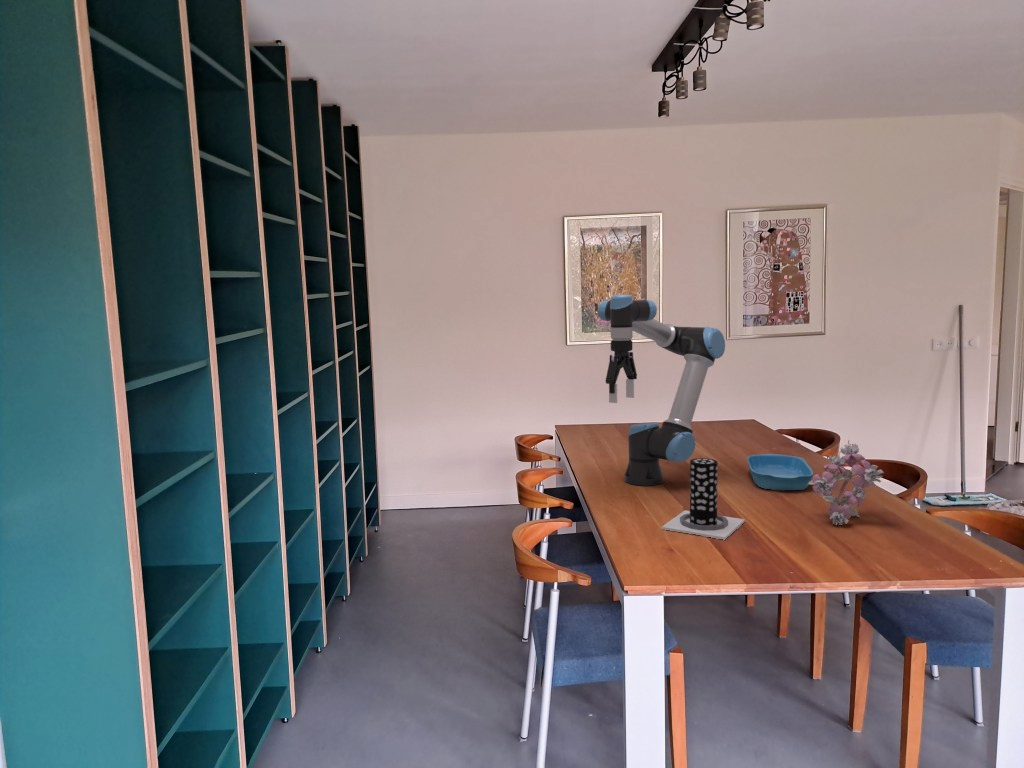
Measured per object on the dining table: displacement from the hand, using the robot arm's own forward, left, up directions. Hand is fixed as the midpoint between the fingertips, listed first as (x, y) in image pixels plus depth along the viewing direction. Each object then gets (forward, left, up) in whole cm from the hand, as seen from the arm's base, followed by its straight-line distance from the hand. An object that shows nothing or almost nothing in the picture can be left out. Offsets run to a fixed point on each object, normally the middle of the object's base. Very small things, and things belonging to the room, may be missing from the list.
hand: (621, 400), depth 254 cm
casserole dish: (-55, +40, -37) cm, 78 cm away
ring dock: (+12, +34, -37) cm, 51 cm away
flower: (-15, +70, -37) cm, 81 cm away
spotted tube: (+12, +34, -36) cm, 51 cm away
